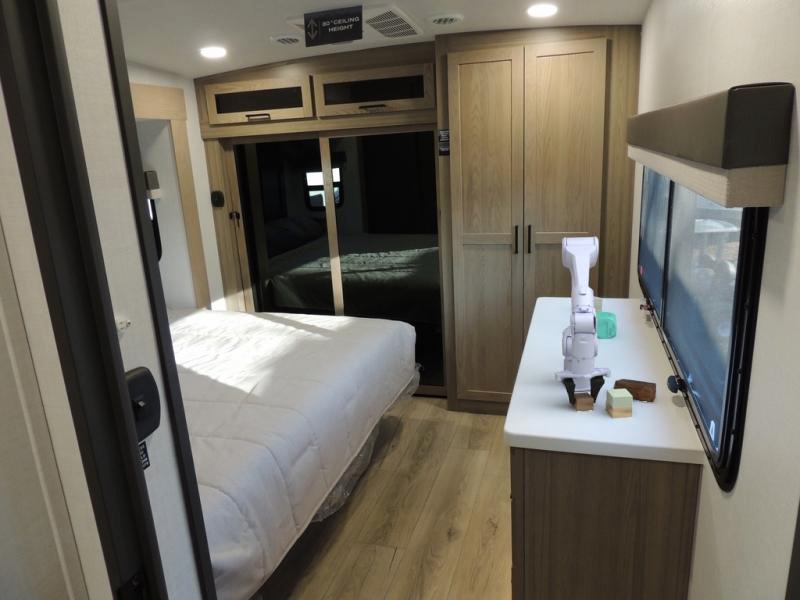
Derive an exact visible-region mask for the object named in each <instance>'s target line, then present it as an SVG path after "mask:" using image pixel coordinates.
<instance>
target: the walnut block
mask: <svg viewBox="0 0 800 600" xmlns="http://www.w3.org/2000/svg"><path fill="white" fill-rule="evenodd" d="M594 405H595V403H594V399H593V398H592V396H591V395H590V393H589V392H588V391H586V392H585V391H583V392H574V405H571V406H572V407H573V409H574V408H575V409H576V410H575V409H574V410H575V411H576V412H577V411H581V412H589V410H592V411H594V407H595V406H594Z"/></svg>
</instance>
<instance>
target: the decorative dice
mask: <svg viewBox="0 0 800 600" xmlns="http://www.w3.org/2000/svg"><path fill="white" fill-rule="evenodd" d="M596 316H597V331H596V332H597V339H600V340H601V339H602V340H605V339H606V340H608V339H613V338H614V337H616V335H617V326H618V325H617V316H616V314H615V313H613V312H610V311H609V312H608V311H602V312H596ZM593 329H594V327H593Z"/></svg>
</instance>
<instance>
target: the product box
mask: <svg viewBox="0 0 800 600" xmlns="http://www.w3.org/2000/svg"><path fill="white" fill-rule="evenodd" d="M593 296H594V295H593ZM594 308H595V312H603V298H602V297H598V296H594Z"/></svg>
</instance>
